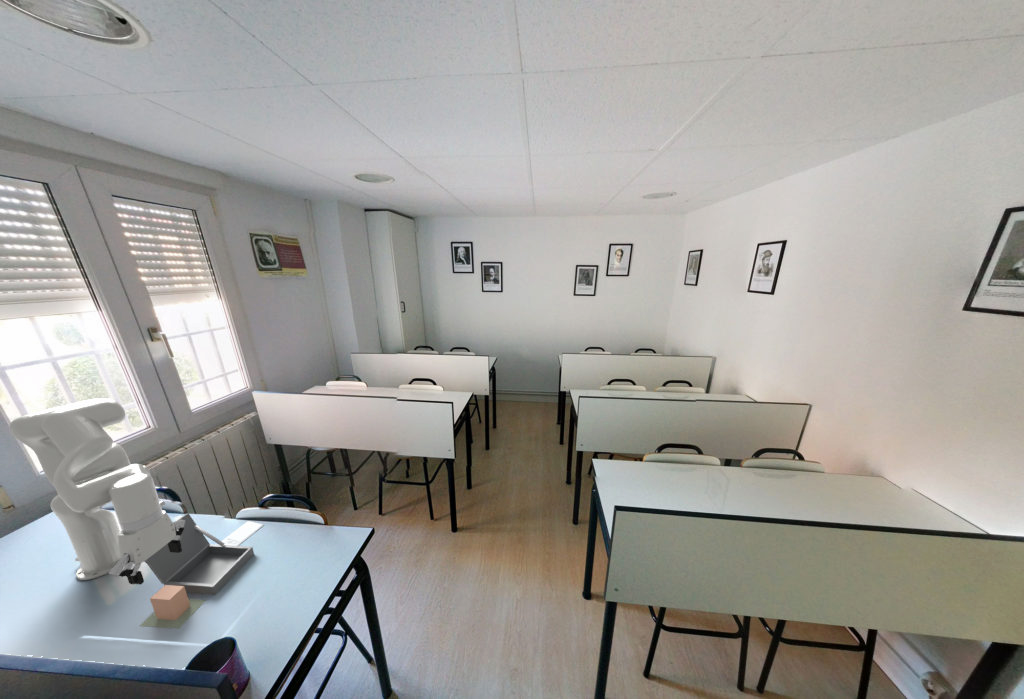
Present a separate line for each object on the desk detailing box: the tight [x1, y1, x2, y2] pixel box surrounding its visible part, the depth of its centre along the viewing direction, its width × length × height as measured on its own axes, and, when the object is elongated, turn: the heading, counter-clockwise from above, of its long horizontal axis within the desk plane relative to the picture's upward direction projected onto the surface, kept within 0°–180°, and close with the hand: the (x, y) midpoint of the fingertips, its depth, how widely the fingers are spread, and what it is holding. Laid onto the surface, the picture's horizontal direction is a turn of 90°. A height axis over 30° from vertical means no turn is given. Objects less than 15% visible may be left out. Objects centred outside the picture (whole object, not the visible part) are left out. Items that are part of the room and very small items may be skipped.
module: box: [149, 585, 190, 620], centre depth 93 cm, size 6×4×8 cm, turn 88°
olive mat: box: [139, 598, 207, 629], centre depth 94 cm, size 12×8×1 cm, turn 88°
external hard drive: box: [216, 520, 265, 546], centre depth 121 cm, size 2×8×12 cm
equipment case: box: [144, 513, 255, 596], centre depth 104 cm, size 22×15×17 cm
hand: (158, 566), depth 89 cm, fingers open, 9 cm apart
